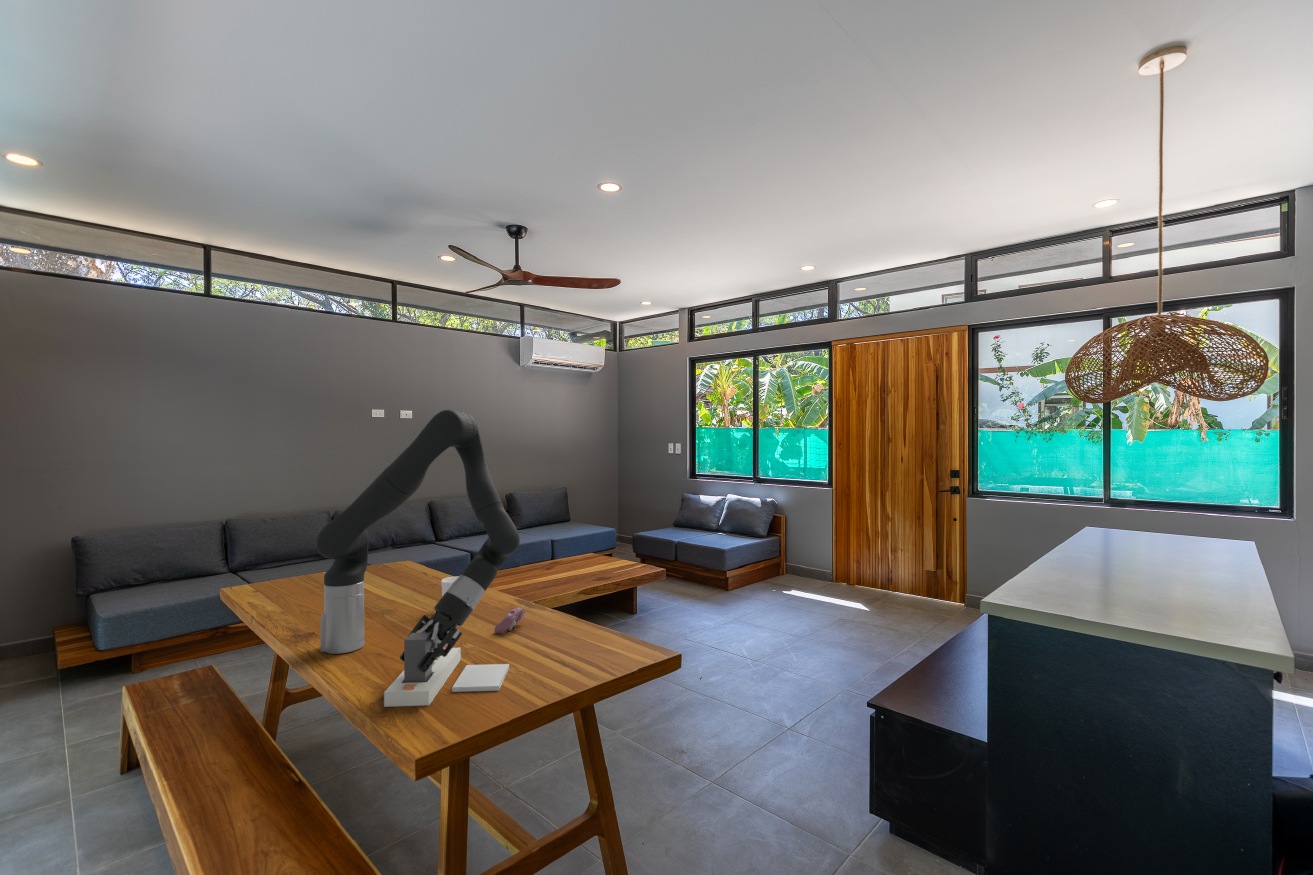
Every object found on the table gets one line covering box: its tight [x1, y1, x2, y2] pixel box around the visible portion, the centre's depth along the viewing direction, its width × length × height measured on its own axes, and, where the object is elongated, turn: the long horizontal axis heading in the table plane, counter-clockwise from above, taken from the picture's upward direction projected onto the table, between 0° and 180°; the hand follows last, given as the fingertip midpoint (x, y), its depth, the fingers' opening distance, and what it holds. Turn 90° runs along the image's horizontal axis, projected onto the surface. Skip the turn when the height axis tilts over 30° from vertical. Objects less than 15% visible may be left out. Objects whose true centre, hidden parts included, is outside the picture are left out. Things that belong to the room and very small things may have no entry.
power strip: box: [383, 647, 462, 708], centre depth 131 cm, size 9×24×3 cm, turn 4°
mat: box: [451, 663, 510, 693], centre depth 131 cm, size 10×12×1 cm
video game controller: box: [493, 606, 526, 634], centre depth 166 cm, size 10×5×7 cm, turn 169°
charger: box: [403, 632, 432, 683], centre depth 126 cm, size 4×4×12 cm
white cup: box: [441, 575, 460, 598], centre depth 182 cm, size 8×8×10 cm
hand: (411, 665), depth 124 cm, fingers open, 7 cm apart
